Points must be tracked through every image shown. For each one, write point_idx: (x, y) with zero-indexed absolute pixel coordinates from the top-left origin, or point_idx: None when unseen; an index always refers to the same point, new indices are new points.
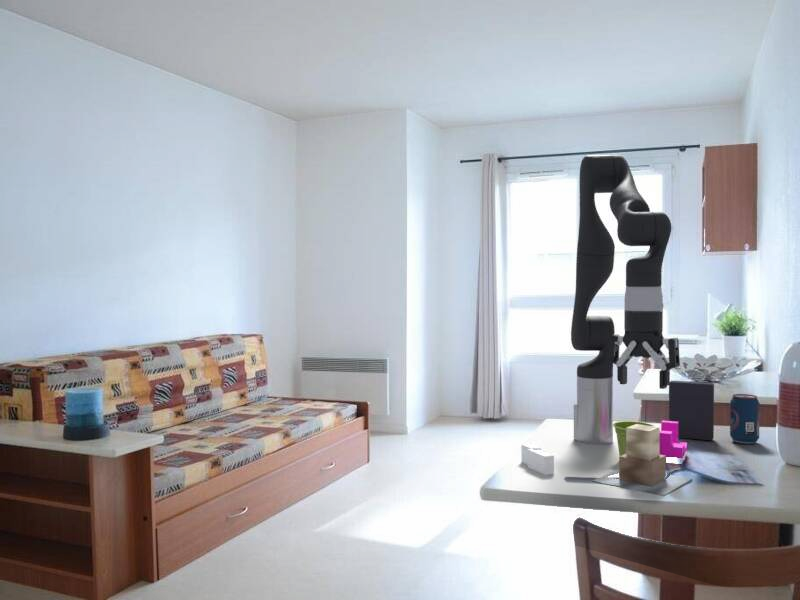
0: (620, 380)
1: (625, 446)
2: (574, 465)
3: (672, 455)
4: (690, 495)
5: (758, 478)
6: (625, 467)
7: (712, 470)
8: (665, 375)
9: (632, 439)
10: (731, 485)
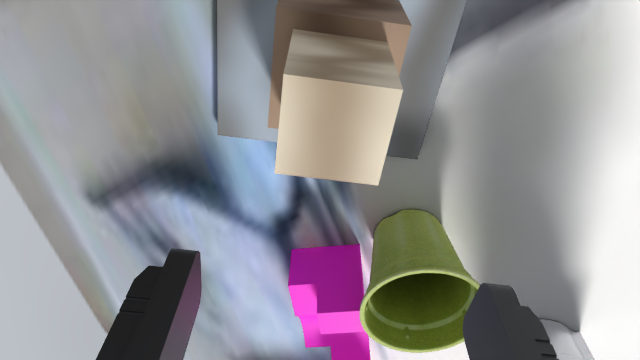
0: (512, 301)
1: (431, 239)
2: (563, 132)
3: (313, 266)
4: (178, 9)
5: (118, 239)
6: (382, 10)
7: (223, 250)
8: (119, 338)
9: (367, 64)
10: (137, 160)
